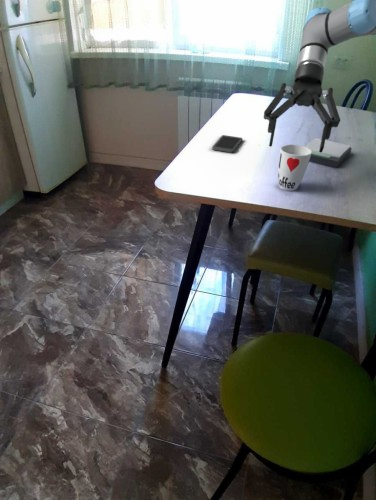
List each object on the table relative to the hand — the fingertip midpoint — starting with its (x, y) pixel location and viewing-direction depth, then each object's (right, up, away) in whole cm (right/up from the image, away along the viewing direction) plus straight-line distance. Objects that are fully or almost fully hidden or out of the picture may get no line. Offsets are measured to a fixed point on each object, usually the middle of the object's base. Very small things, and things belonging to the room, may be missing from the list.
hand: (295, 147), depth 111 cm
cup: (-1, -10, +4) cm, 10 cm away
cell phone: (-16, +13, +26) cm, 33 cm away
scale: (+15, +7, +22) cm, 28 cm away
